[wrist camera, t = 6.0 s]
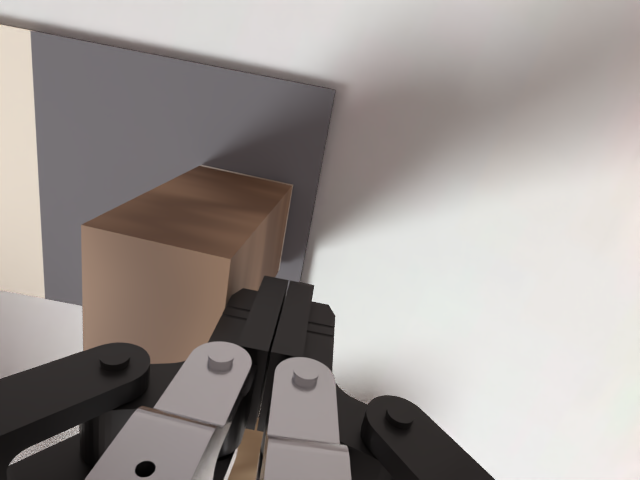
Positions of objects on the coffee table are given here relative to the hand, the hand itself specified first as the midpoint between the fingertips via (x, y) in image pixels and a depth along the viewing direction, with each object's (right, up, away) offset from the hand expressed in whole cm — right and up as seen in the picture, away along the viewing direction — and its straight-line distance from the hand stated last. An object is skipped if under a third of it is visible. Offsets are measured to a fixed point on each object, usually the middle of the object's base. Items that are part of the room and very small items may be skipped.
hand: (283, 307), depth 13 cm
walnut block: (-2, +3, +6) cm, 7 cm away
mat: (-8, +4, +7) cm, 11 cm away
